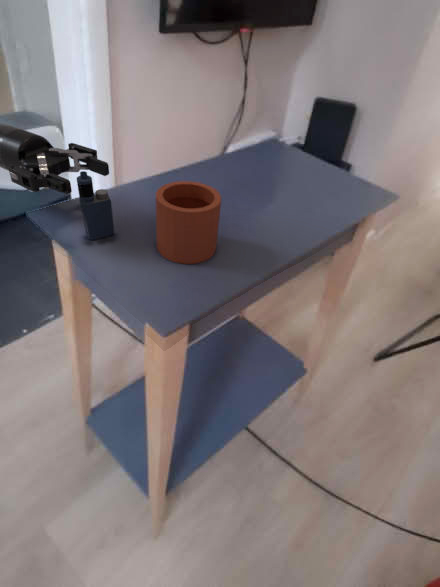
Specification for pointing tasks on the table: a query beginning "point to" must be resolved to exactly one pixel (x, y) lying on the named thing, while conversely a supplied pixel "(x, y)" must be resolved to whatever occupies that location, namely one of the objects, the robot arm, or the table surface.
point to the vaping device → (95, 208)
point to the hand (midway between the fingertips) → (89, 178)
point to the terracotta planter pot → (187, 221)
